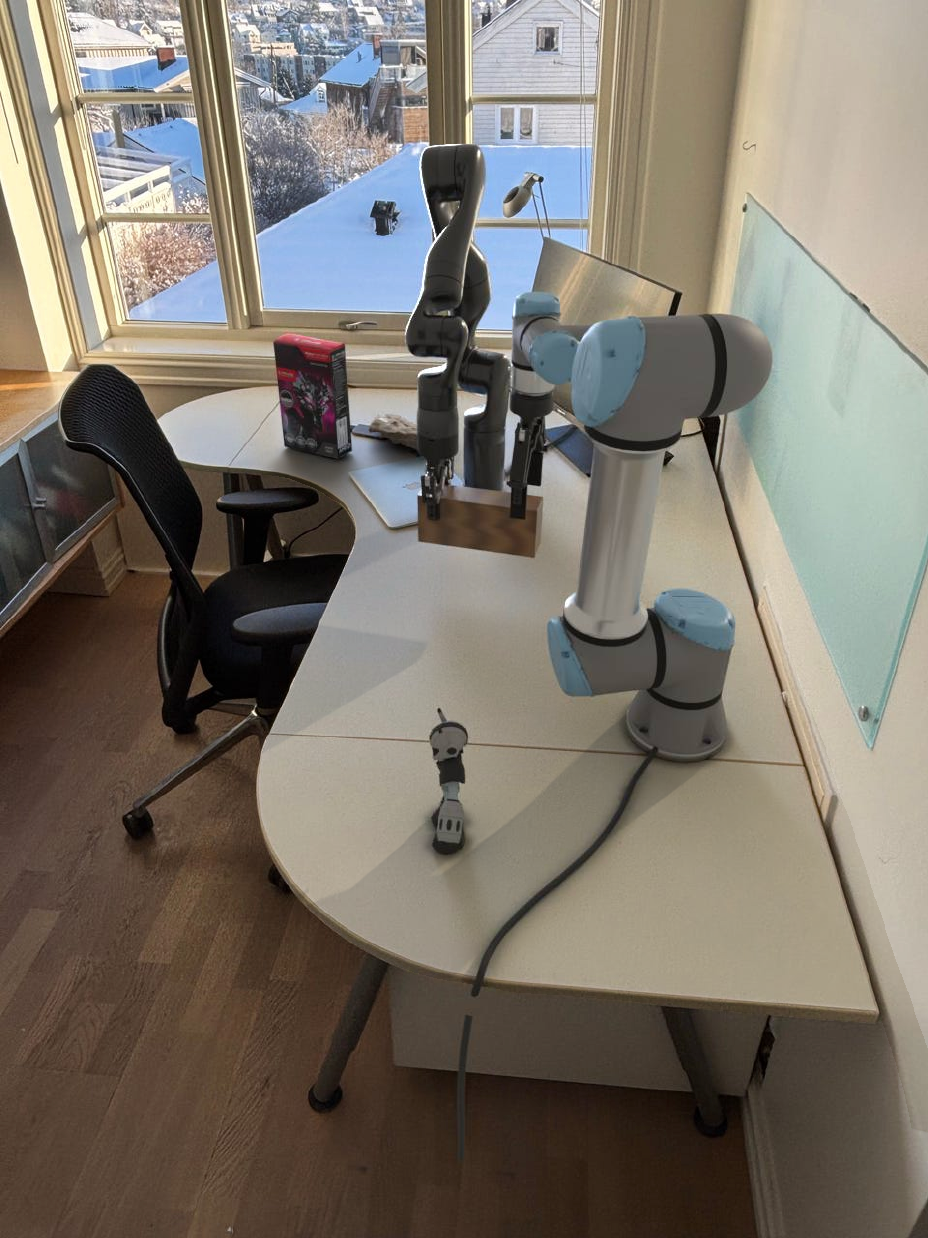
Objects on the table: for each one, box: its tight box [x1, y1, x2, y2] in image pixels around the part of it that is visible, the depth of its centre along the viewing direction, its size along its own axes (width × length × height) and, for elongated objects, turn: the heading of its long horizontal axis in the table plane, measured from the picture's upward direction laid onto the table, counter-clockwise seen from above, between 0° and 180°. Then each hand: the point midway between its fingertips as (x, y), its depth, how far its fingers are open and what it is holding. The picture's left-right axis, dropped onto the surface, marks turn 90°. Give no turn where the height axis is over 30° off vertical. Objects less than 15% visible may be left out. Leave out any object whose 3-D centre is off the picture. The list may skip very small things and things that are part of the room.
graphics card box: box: [272, 332, 353, 460], centre depth 223 cm, size 17×7×27 cm, turn 62°
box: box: [416, 483, 544, 559], centre depth 173 cm, size 23×6×10 cm, turn 75°
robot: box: [428, 707, 469, 855], centre depth 120 cm, size 20×5×20 cm, turn 3°
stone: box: [368, 413, 417, 450], centre depth 233 cm, size 21×15×6 cm
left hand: (438, 511), depth 175 cm, fingers closed on box, 6 cm apart
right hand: (526, 500), depth 168 cm, fingers open, 13 cm apart
